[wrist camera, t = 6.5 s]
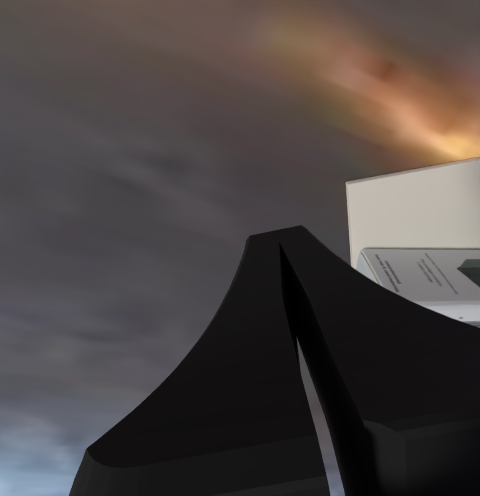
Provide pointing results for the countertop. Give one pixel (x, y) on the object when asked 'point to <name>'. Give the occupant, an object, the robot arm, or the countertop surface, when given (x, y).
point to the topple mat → (416, 209)
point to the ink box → (429, 278)
